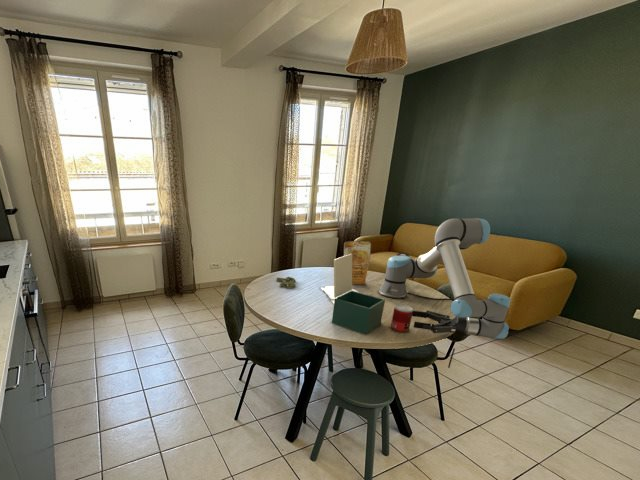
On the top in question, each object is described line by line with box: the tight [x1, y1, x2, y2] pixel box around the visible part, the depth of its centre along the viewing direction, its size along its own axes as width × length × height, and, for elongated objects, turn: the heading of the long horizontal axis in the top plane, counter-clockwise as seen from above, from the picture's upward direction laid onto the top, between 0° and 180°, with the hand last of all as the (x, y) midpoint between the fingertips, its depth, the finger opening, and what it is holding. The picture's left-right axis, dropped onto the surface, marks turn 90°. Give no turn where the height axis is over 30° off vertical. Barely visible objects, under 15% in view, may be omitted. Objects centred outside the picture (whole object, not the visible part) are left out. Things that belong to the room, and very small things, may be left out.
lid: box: [333, 254, 353, 298], centre depth 160 cm, size 19×17×1 cm
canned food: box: [390, 304, 414, 333], centre depth 155 cm, size 8×8×11 cm
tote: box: [331, 291, 386, 335], centre depth 160 cm, size 18×17×13 cm
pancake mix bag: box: [343, 240, 372, 285], centre depth 215 cm, size 7×19×28 cm, turn 93°
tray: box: [320, 285, 358, 305], centre depth 198 cm, size 20×28×4 cm
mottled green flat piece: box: [276, 276, 296, 289], centre depth 217 cm, size 18×12×2 cm, turn 2°
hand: (412, 318), depth 153 cm, fingers open, 13 cm apart
